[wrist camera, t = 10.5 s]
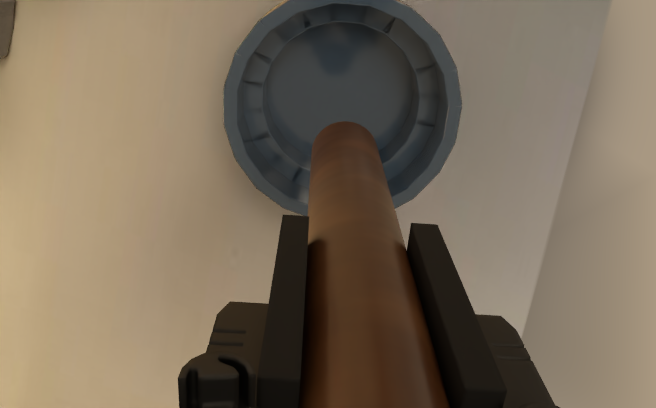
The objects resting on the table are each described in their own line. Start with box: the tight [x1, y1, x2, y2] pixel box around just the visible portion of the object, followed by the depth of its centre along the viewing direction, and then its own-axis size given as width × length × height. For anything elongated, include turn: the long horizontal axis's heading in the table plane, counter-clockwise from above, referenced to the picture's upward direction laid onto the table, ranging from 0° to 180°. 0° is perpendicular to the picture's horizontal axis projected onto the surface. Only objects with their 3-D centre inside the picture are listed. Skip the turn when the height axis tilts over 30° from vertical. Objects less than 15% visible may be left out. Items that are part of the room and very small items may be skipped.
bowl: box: [223, 0, 462, 216], centre depth 34 cm, size 14×14×6 cm
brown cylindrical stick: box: [298, 121, 451, 408], centre depth 16 cm, size 3×3×20 cm
